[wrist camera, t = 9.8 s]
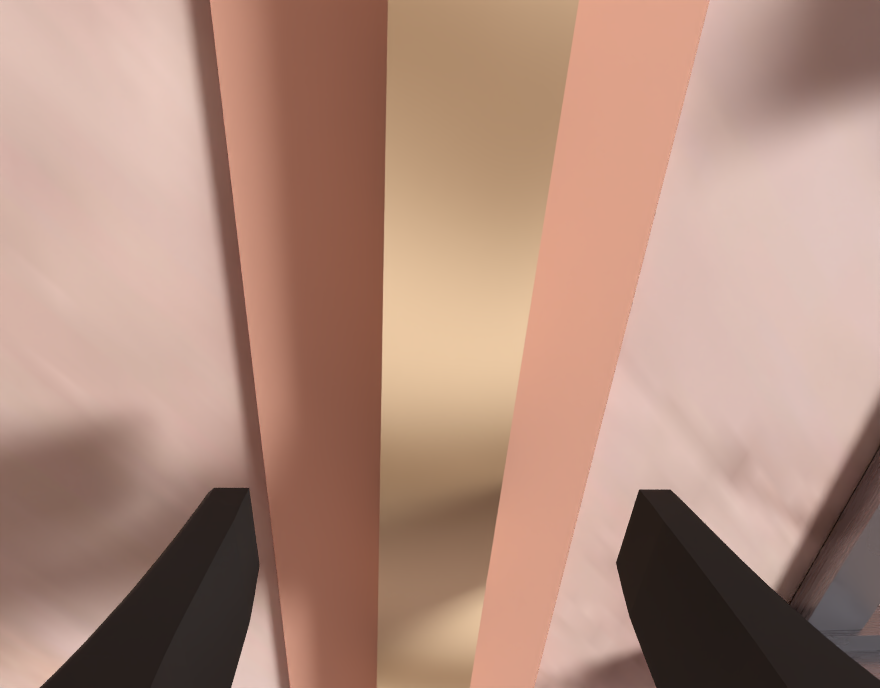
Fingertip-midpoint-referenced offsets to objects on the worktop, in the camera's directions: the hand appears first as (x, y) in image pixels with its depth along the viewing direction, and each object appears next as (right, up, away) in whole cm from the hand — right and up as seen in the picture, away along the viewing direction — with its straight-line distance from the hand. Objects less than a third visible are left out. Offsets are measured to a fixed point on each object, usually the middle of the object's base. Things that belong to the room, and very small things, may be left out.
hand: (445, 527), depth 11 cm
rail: (0, +2, +3) cm, 3 cm away
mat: (0, +2, +3) cm, 4 cm away
